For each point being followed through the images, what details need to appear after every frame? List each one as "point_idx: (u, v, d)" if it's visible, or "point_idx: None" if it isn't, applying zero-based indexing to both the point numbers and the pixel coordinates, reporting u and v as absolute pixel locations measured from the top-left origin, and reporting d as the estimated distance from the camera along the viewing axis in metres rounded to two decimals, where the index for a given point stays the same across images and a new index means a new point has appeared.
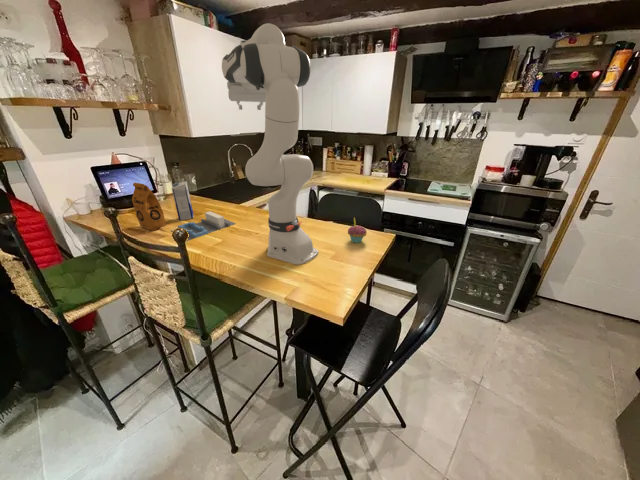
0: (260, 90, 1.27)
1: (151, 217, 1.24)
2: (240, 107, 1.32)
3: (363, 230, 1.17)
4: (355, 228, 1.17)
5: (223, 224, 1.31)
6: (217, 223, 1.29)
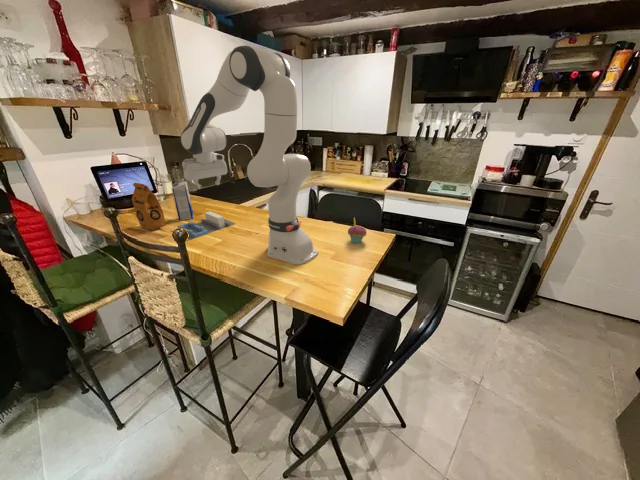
0: (217, 163, 1.23)
1: (151, 217, 1.24)
2: (199, 186, 1.21)
3: (363, 230, 1.17)
4: (355, 228, 1.17)
5: (223, 224, 1.31)
6: (217, 223, 1.29)
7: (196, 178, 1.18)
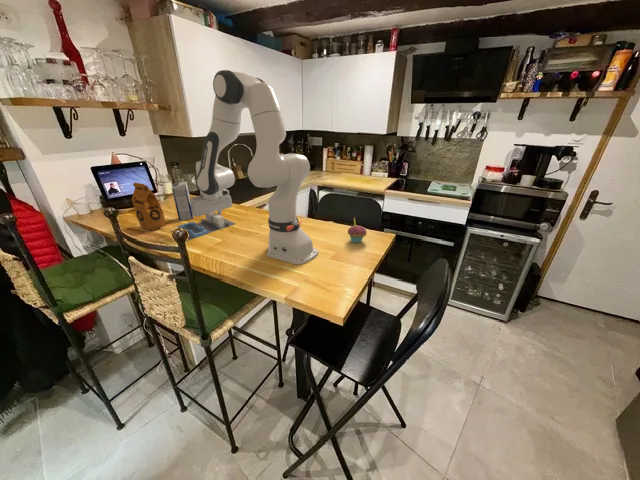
0: (222, 198, 1.30)
1: (151, 217, 1.24)
2: (211, 219, 1.30)
3: (363, 230, 1.17)
4: (355, 228, 1.17)
5: (223, 224, 1.31)
6: (217, 223, 1.29)
7: (203, 213, 1.25)
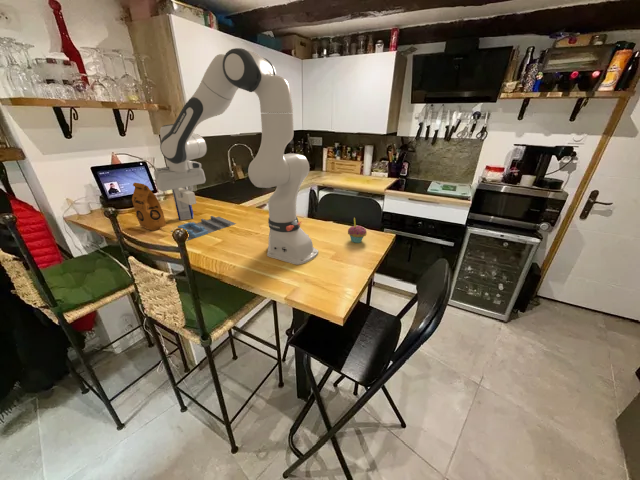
0: (193, 171, 1.15)
1: (151, 217, 1.24)
2: (180, 195, 1.15)
3: (363, 230, 1.17)
4: (355, 228, 1.17)
5: (194, 201, 1.16)
6: (187, 200, 1.14)
7: (170, 188, 1.10)
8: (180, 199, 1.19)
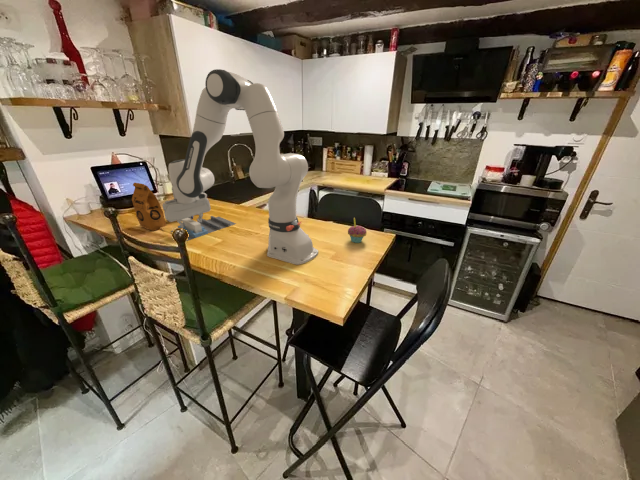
0: (199, 201, 1.21)
1: (151, 217, 1.24)
2: (183, 225, 1.20)
3: (363, 230, 1.17)
4: (355, 228, 1.17)
5: (200, 231, 1.22)
6: (194, 230, 1.21)
7: (177, 219, 1.16)
8: None
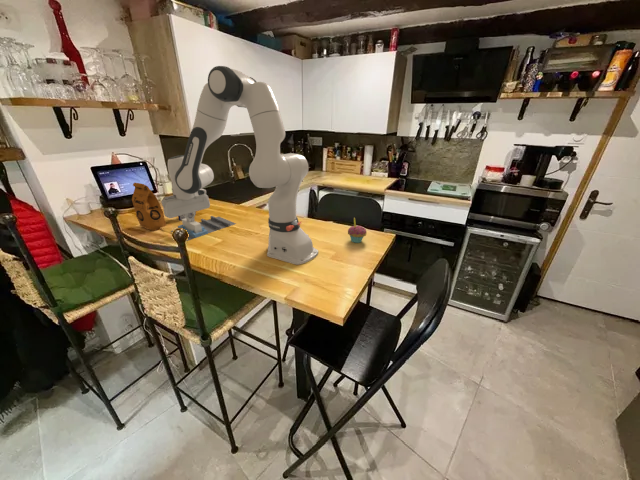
0: (198, 198, 1.21)
1: (151, 217, 1.24)
2: (189, 219, 1.22)
3: (363, 230, 1.17)
4: (355, 228, 1.17)
5: (200, 231, 1.22)
6: (194, 231, 1.21)
7: (177, 215, 1.16)
8: None
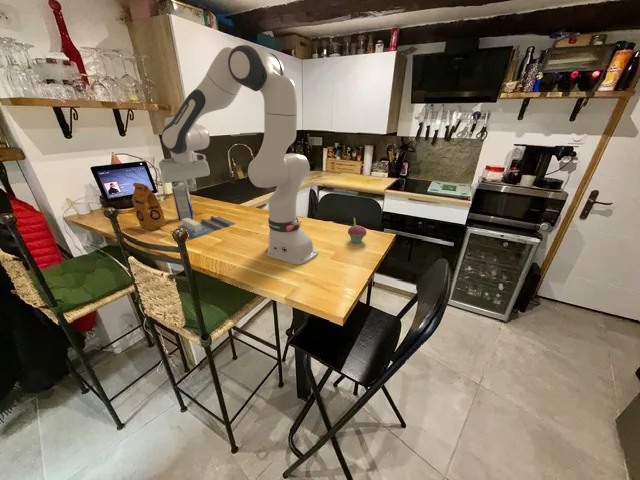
0: (197, 163, 1.15)
1: (151, 217, 1.24)
2: (188, 186, 1.16)
3: (363, 230, 1.17)
4: (355, 228, 1.17)
5: (200, 231, 1.22)
6: (194, 230, 1.21)
7: (175, 180, 1.10)
8: None
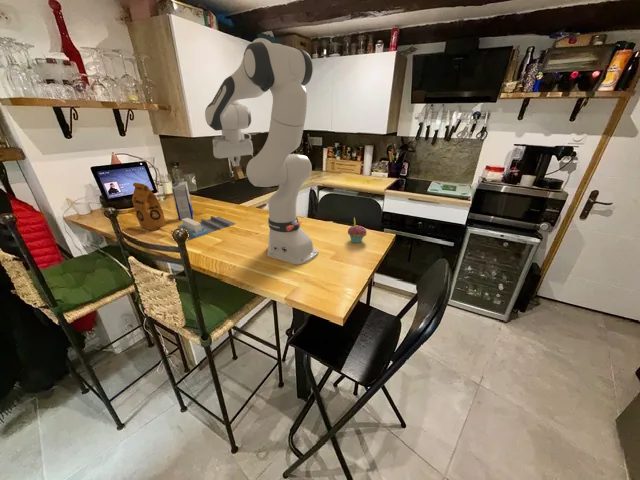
0: (244, 142, 1.25)
1: (151, 217, 1.24)
2: (235, 163, 1.26)
3: (363, 230, 1.17)
4: (355, 228, 1.17)
5: (200, 231, 1.22)
6: (194, 230, 1.21)
7: (225, 156, 1.20)
8: None
